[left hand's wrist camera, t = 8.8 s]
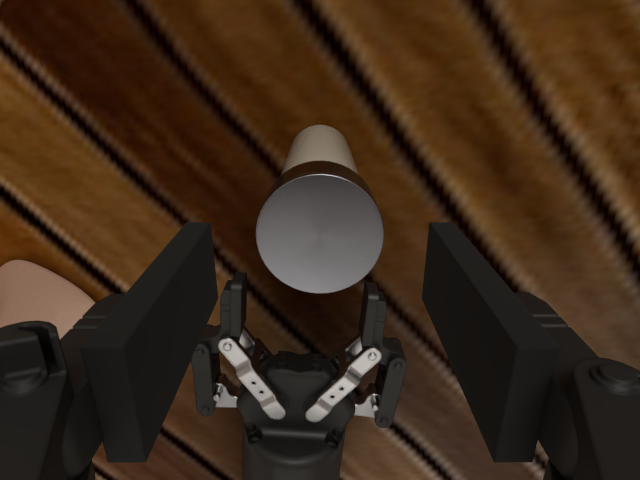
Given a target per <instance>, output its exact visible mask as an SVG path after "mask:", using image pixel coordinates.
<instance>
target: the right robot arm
mask: <svg viewBox="0 0 640 480" xmlns="http://www.w3.org/2000/svg"><path fill="white" fill-rule="evenodd" d="M246 300H247V273H238V272H236V273H235V275H234V278H233V280H228V281H227V283H226V285H225V287H224V290H223V292H222V294H221V297H220V304H221V305H220V310H221V311H220V325H218V326H213V325H209V324H207V325H206V327H205V329H204V331H203V334H202V336H201V338H200V340H199V343H198V345H197V347H196V350H195V352H194V354H193V356H192V369H193V378H194V387H195V396H196V405H197V411H198V413H199V414H201V415H202V416H210V415H212V414H213V413H214V411H215V407H232V408H237V409H238V411H239V412H240V414H241V415H242V418H243V468H242V480H339V474H340V466H341V459H342V451H343V444H344V436H345V429H346V425H347V423H348V422H349V421H350V420H351V419H352V417H353V416H354V415H358V416H367V417H375V423H376V425H377V426H378V427H381V428H386V427H389V426H390V425H391V424H392V422H393V418H394V414H395V410H396V407H397V403H398V399H399V395H400V392H401V388H402V384H403V380H404V376H405V373H406V369H407V363H406V359H405V356H404V353H403V349H402V346H401V342H400V341H399V340H398V339H397V338H389V339H388V338H385V337H384V336H383V333H384V327H385V321H386V314H387V307H386V303H385V299H384V296H383V292H379V291H378V289H377V285H376V283H369V282H365V285H364V292H363V299H362V307H361V314H360V322H359V331H360V333H359V334H358V335H357V336H356V337H355V338H354V339H353V340H351V341H350V342H349V343H348V344H347V345H345V344H343V345H341V346H340V347H339V348H338V349H337V350H336V351H335V352H333V353H332V354H331V355H330V356H329V357H328V358H327V359H325V358H323V357H322V354H317V353H308V354H302V355H299V354H296V353H292V352H288V351H278V354H276V355H272V354H271V352H270V351H269V350H268V349H267V347H266V346H265V345H264V344H263V343H262V341H261V340H260V339H258V338H256V339H255V338H254V337H253V336H252V334H251V333H250V332H249V331H248V330H247V328H246V327H245V326H244V324H245V321H246ZM219 352H222V353H223V355H224V356H225V357H226V358H227V359H228V360H229V361H230V363H231V364H232V365H233V366H234V367H235V369H236V374H237V377H238V378H239V380H240V381H241V382H242V383H243V384H242V385H241V386H240V389H237V388H234V387H232V386H231V384H230V381H229V379H228V378H227V375H226V374H225V373H222V374H221V371H220V359H219ZM377 363H380V364H379V368H378V372H377V376H376V381H375V384H374V383H370V384H369V385H368V387H367V388H366V390H365V392H364V393H363V394H362V395H360V396H354V394H353V392H352V390H353V389H354V388H355V387H356V386H357V385H358V384H359V382H360V379H361V377H362V376H363V375H364V374H365V373H366V372H367V371H368V370H370V369H371V368H372V367H373V366H374V365H375V364H377Z"/></svg>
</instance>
